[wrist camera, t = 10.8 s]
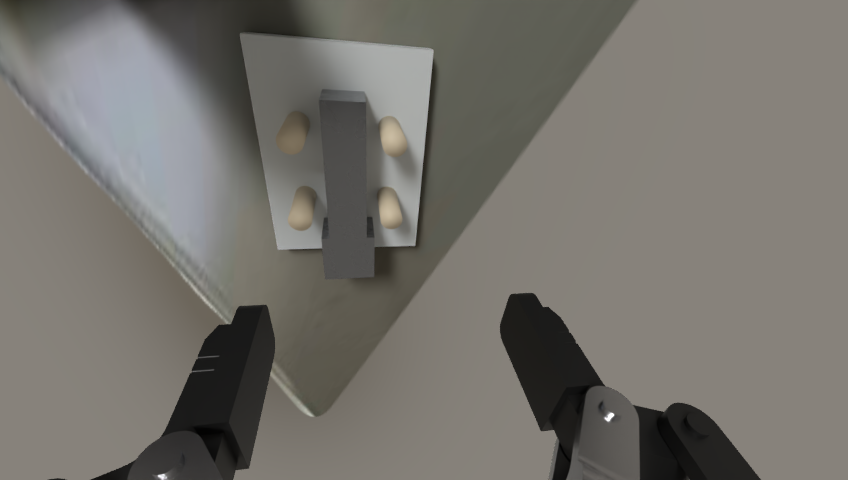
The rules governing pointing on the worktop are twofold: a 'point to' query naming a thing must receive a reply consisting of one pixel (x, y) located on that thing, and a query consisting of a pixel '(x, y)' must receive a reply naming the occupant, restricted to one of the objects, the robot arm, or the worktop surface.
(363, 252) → the grey long block
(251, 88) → the rack
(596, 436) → the robot arm
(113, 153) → the worktop surface
